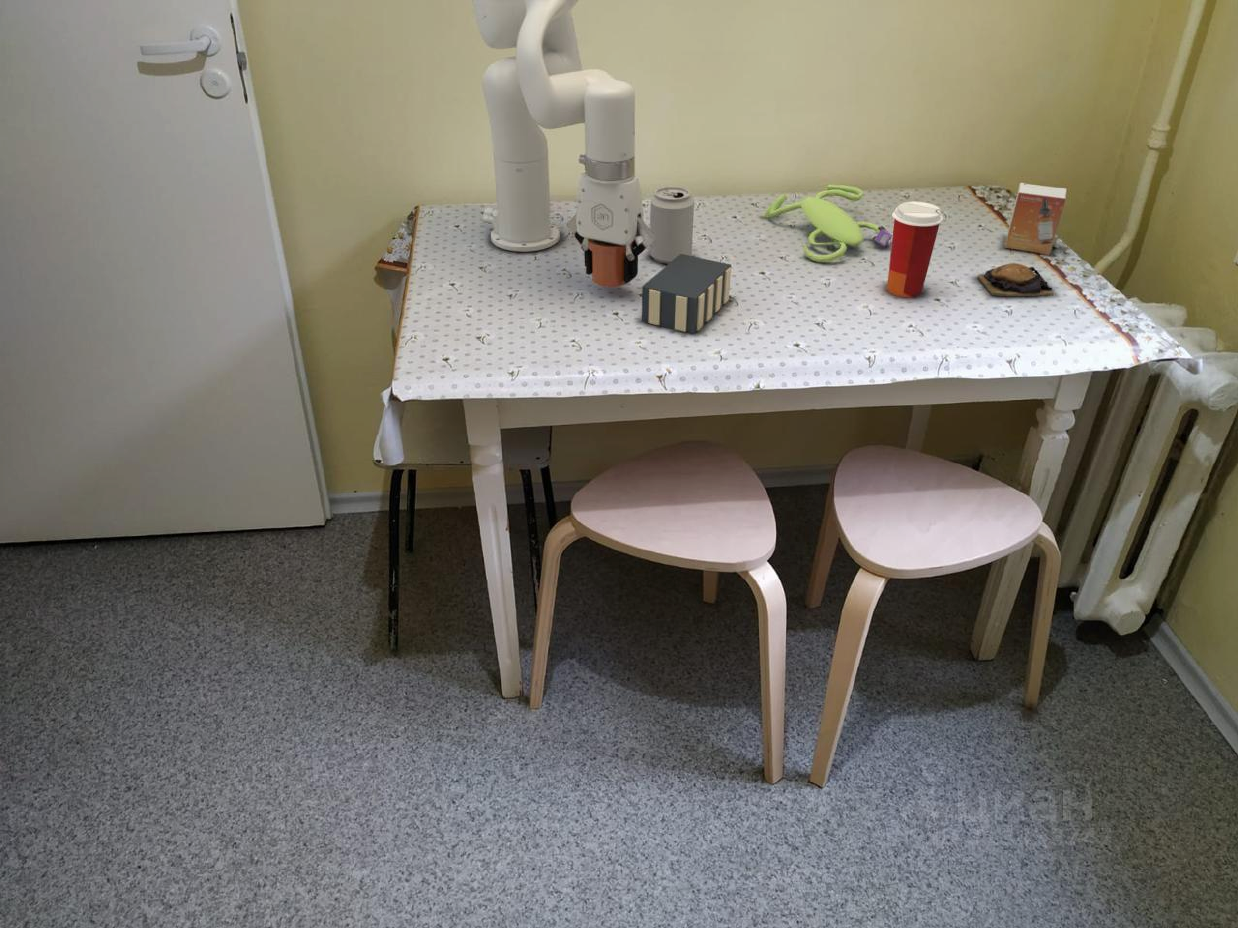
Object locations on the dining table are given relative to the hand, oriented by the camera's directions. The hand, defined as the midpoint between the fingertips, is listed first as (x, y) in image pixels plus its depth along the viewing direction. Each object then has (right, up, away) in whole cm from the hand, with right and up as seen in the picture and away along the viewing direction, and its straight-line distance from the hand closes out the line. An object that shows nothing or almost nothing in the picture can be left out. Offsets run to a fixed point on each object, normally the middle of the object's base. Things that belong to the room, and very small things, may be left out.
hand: (611, 274), depth 162 cm
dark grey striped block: (+12, -6, -4) cm, 14 cm away
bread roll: (+67, -1, +4) cm, 68 cm away
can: (+10, +5, +13) cm, 18 cm away
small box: (+75, +8, +18) cm, 78 cm away
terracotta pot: (0, -1, 0) cm, 1 cm away
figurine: (+40, +12, +23) cm, 48 cm away
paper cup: (+49, -2, +2) cm, 49 cm away
